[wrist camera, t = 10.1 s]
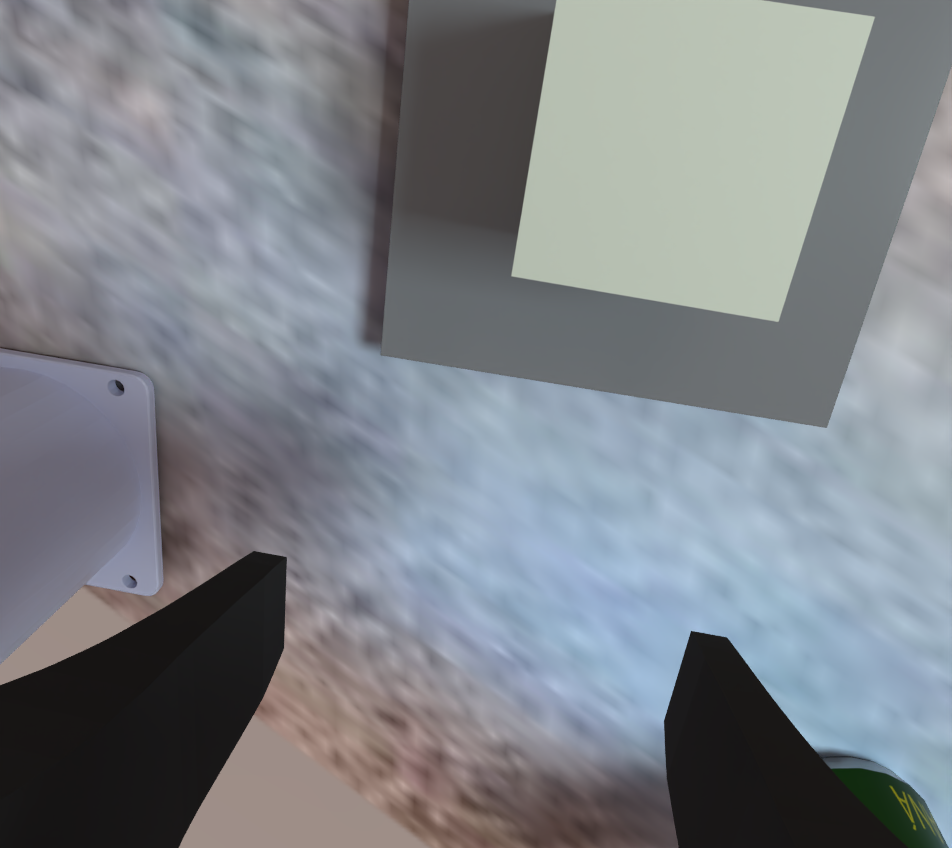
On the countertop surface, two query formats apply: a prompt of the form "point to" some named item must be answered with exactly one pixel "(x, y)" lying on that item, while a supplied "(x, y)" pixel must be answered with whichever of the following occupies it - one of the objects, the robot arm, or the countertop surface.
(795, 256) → the cube
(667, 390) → the slate tile
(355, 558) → the countertop surface
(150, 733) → the robot arm
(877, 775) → the beer can
